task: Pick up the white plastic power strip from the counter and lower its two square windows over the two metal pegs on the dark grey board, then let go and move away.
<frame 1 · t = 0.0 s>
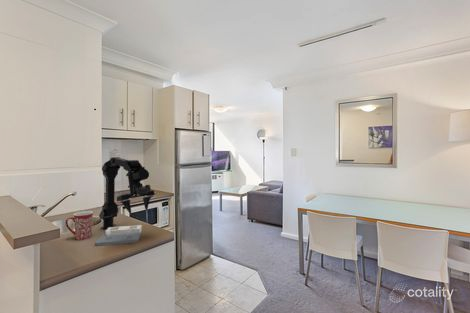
hand: (138, 211, 119), 15 cm above the worktop, tool pointing down, fingers open, 9 cm apart
mug: (79, 238, 123), on the worktop
power strip: (124, 233, 130), on the worktop
peg board: (119, 240, 120), on the worktop
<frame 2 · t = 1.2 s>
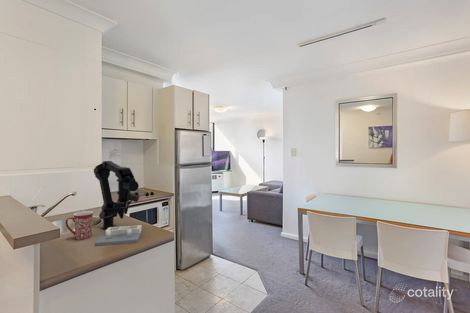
hand: (123, 216, 130), 10 cm above the worktop, tool pointing down, fingers open, 9 cm apart
nothing on the worktop moved.
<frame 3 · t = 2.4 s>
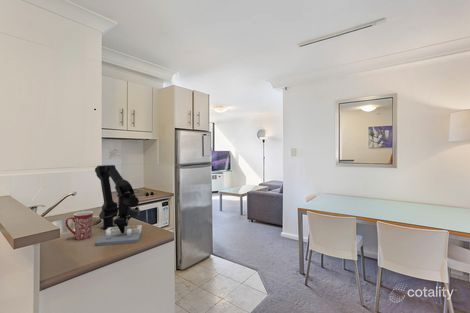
hand: (124, 231, 130), 1 cm above the worktop, tool pointing down, fingers closed on power strip, 6 cm apart
power strip: (124, 233, 130), on the worktop, touching gripper
everything else where it was.
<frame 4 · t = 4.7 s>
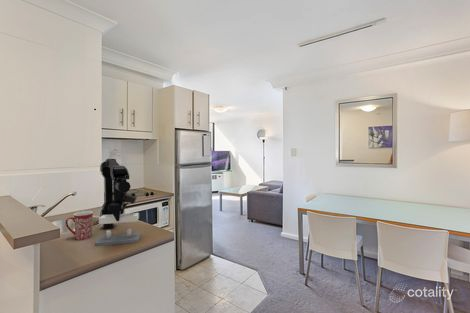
hand: (119, 219, 120), 11 cm above the worktop, tool pointing down, fingers closed on power strip, 6 cm apart
power strip: (119, 221, 120), point 10 cm above the worktop, touching gripper
everything else where it was.
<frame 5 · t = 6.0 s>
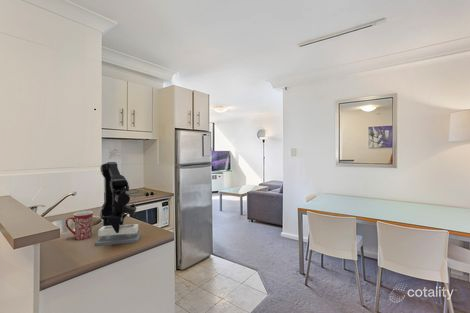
hand: (119, 230, 120), 5 cm above the worktop, tool pointing down, fingers closed on power strip, 6 cm apart
power strip: (119, 232, 120), point 4 cm above the worktop, touching gripper
everything else where it was.
when the fingers open (3 cm above the worktop, at t = 6.9 s): power strip stays where it is, resting on peg board.
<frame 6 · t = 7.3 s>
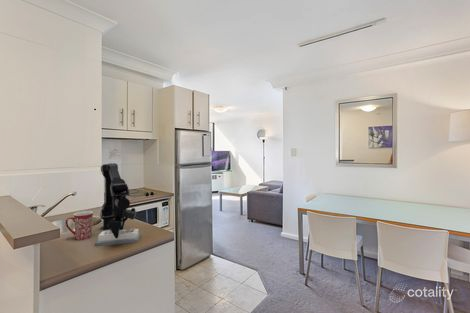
hand: (119, 234, 120), 3 cm above the worktop, tool pointing down, fingers open, 9 cm apart
power strip: (119, 237, 120), point 1 cm above the worktop, touching peg board
everything else where it was.
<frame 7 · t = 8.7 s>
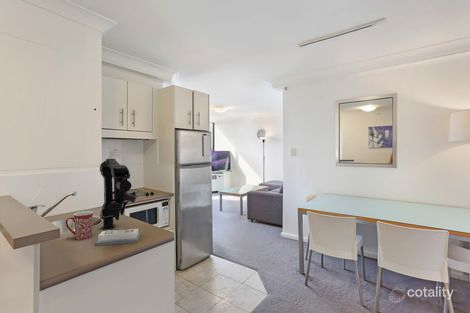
hand: (119, 217, 122), 12 cm above the worktop, tool pointing down, fingers open, 9 cm apart
nothing on the worktop moved.
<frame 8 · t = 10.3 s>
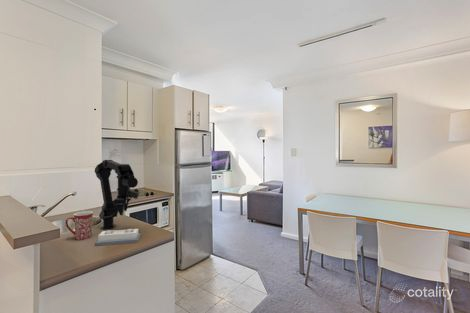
hand: (123, 213, 129), 12 cm above the worktop, tool pointing down, fingers open, 9 cm apart
nothing on the worktop moved.
at the end: power strip 0.1 cm off-centre on the peg board, point 1.5 cm above the peg board's base; power strip tilted 0°; the gripper is holding nothing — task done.
